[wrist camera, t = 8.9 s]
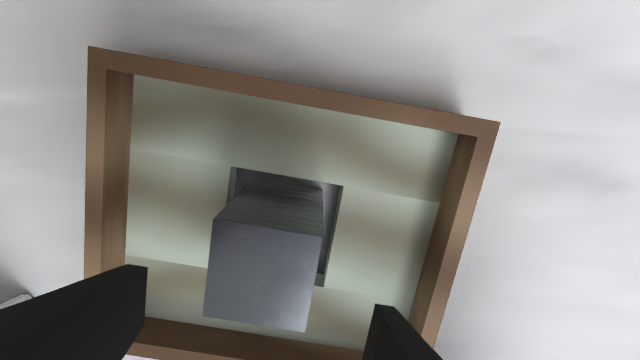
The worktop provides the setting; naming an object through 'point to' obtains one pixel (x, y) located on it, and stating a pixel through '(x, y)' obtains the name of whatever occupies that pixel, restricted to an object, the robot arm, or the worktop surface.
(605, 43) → the worktop surface
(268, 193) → the charcoal peg
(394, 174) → the walnut box
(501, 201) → the worktop surface
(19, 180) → the worktop surface
